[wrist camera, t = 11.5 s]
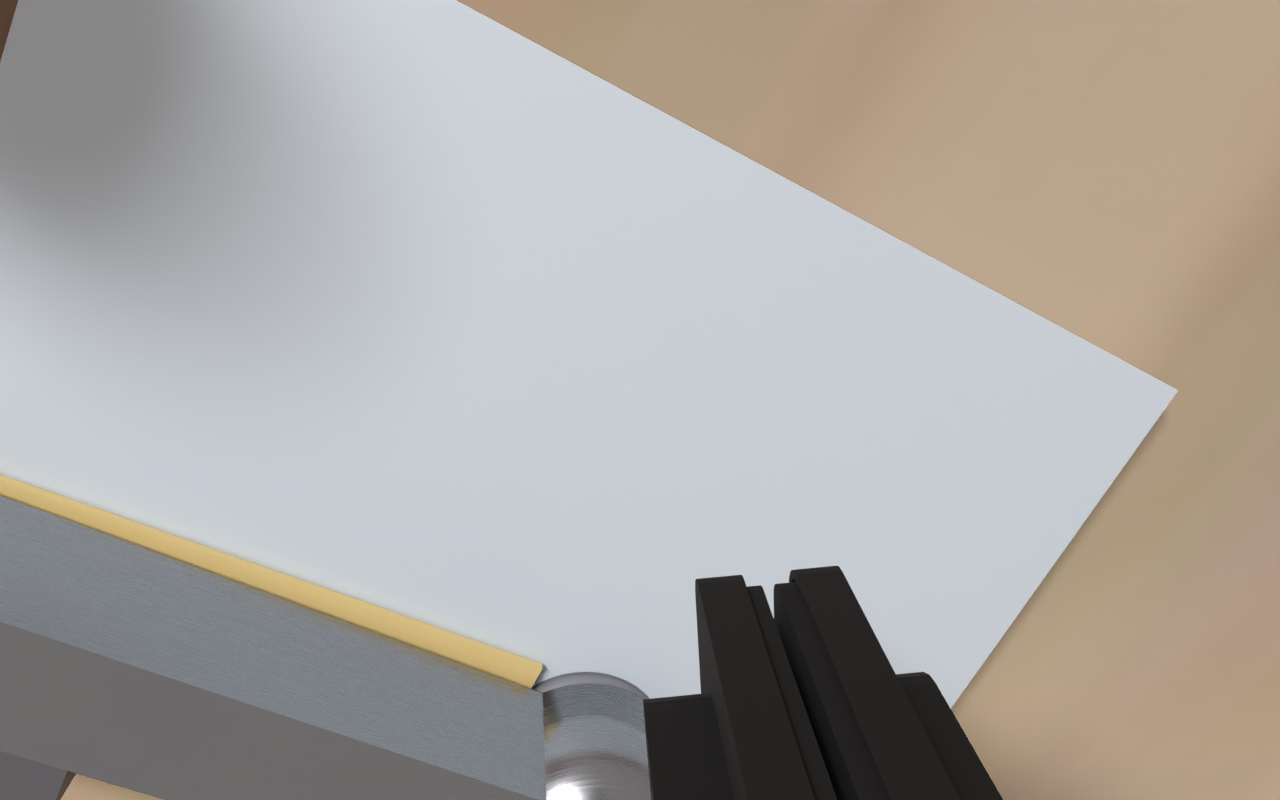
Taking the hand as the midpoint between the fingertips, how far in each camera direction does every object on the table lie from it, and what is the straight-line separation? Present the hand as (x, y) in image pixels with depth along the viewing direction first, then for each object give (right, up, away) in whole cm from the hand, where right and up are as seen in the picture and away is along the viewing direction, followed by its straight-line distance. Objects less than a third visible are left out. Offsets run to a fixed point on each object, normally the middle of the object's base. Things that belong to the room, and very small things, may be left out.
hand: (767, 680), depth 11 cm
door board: (-4, +1, +12) cm, 13 cm away
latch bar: (-9, -3, +11) cm, 15 cm away
